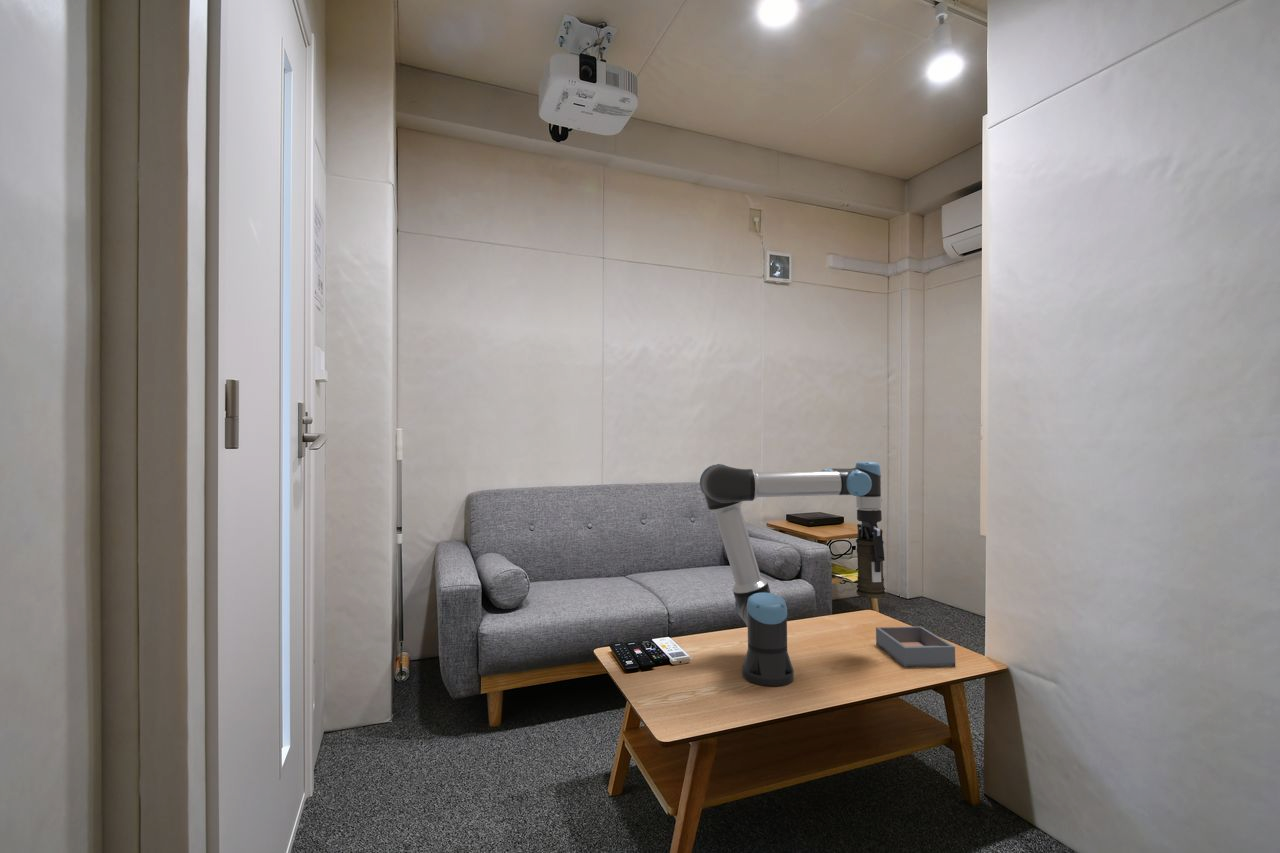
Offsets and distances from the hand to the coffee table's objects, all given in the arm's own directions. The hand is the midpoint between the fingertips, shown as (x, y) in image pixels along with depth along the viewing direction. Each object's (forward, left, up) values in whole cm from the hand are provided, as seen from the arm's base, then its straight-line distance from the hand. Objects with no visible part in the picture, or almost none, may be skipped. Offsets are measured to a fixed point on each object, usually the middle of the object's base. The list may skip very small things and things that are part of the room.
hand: (870, 578), depth 188 cm
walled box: (+14, +1, -25) cm, 29 cm away
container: (0, 0, -6) cm, 6 cm away
